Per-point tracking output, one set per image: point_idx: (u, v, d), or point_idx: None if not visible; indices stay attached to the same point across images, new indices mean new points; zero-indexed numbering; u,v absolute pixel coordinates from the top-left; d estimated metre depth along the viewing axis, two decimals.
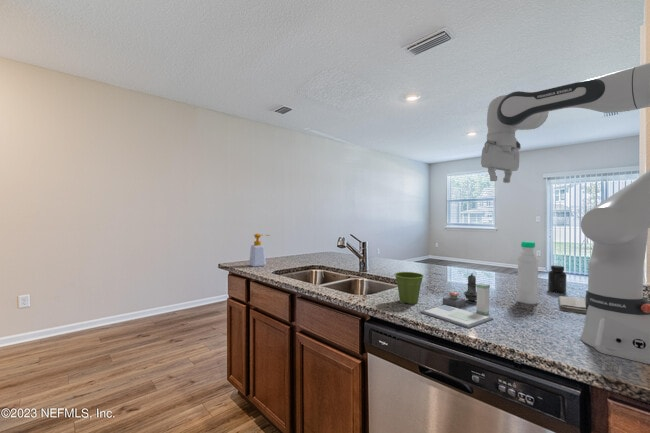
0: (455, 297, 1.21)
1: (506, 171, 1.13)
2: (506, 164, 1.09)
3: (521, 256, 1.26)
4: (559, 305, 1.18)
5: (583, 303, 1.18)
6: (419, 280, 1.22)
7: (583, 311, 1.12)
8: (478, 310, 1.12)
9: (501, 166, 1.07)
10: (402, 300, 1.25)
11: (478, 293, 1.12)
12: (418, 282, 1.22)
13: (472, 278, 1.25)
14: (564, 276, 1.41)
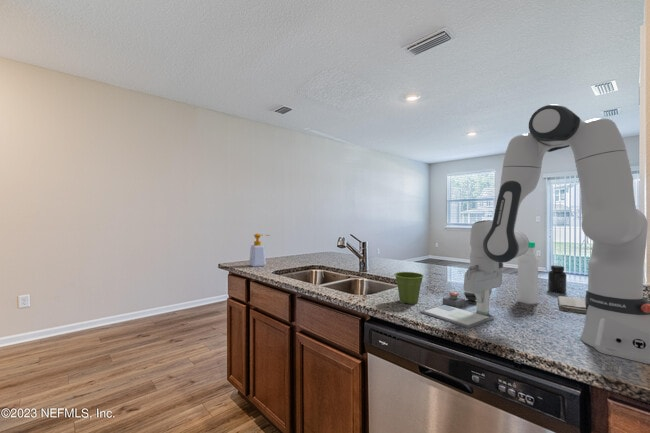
0: (455, 297, 1.21)
1: None
2: (489, 286, 1.11)
3: (521, 256, 1.26)
4: (559, 305, 1.17)
5: (583, 303, 1.18)
6: (419, 280, 1.22)
7: (583, 311, 1.12)
8: (478, 310, 1.12)
9: (483, 290, 1.09)
10: (402, 300, 1.25)
11: None
12: (418, 282, 1.22)
13: None
14: (564, 276, 1.41)
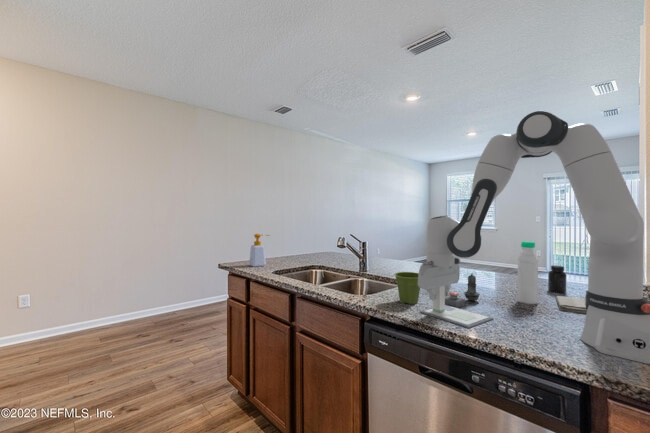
0: (455, 297, 1.21)
1: (445, 284, 1.15)
2: (444, 282, 1.11)
3: (521, 256, 1.26)
4: (559, 305, 1.17)
5: (582, 303, 1.18)
6: None
7: (583, 311, 1.12)
8: (434, 308, 1.12)
9: (438, 286, 1.09)
10: (402, 300, 1.25)
11: None
12: None
13: (472, 278, 1.25)
14: (564, 276, 1.41)
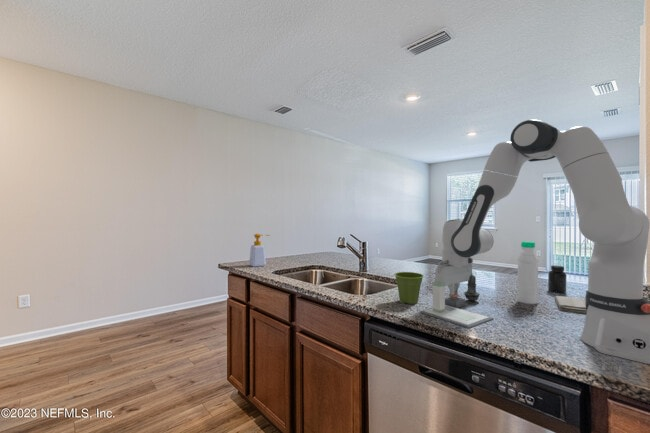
0: (455, 298, 1.21)
1: None
2: (458, 279, 1.21)
3: (521, 256, 1.26)
4: (559, 305, 1.17)
5: (581, 303, 1.18)
6: (419, 280, 1.22)
7: (583, 311, 1.12)
8: (434, 308, 1.12)
9: (453, 283, 1.19)
10: (402, 300, 1.25)
11: (434, 291, 1.12)
12: (418, 282, 1.22)
13: (472, 278, 1.25)
14: (564, 276, 1.41)
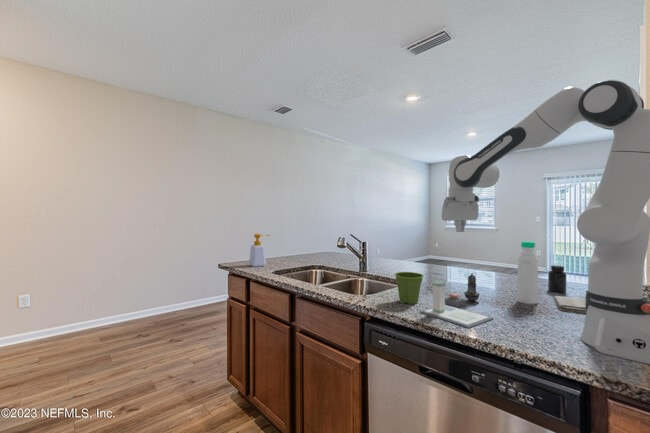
0: (455, 299, 1.21)
1: (461, 221, 1.24)
2: (465, 216, 1.22)
3: (521, 256, 1.26)
4: (559, 305, 1.17)
5: (581, 303, 1.18)
6: (419, 280, 1.22)
7: (583, 311, 1.12)
8: (434, 308, 1.12)
9: (460, 219, 1.20)
10: (402, 300, 1.25)
11: (434, 291, 1.12)
12: (418, 282, 1.22)
13: (472, 278, 1.25)
14: (564, 276, 1.41)
